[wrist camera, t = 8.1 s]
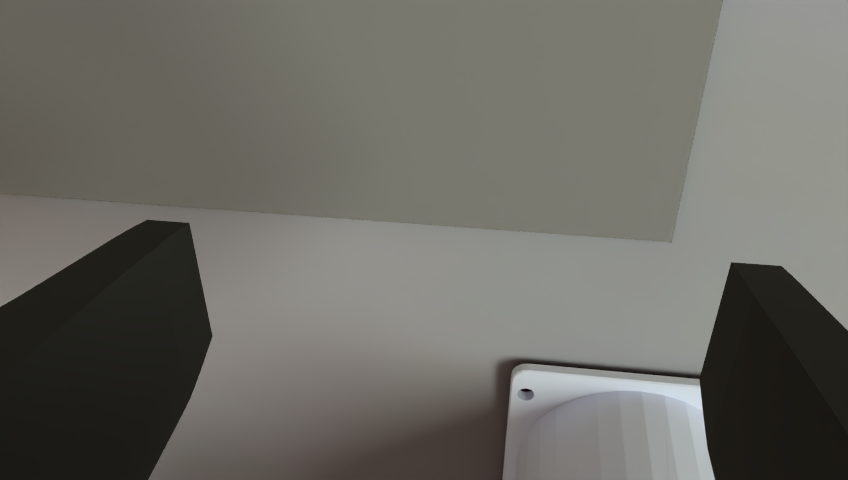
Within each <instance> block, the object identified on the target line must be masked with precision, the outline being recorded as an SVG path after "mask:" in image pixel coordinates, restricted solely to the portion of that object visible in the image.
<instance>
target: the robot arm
mask: <svg viewBox="0 0 848 480" xmlns="http://www.w3.org/2000/svg"><path fill="white" fill-rule="evenodd" d="M211 339H212V332H211V327H210V322H209V318H208V313H207V308H206V303H205V298H204V293H203V288H202V283H201V278H200V274H199V269H198V264H197V259H196V254H195V249H194V244H193V239H192V234H191V230H190V225H189V223H182V222H168V221H154V220H146V221H144V222H142V223H140V224H138V225H136V226H134V227H133V228H131V229H129V230H127V231H125V232H124V233H122V234H120V235H119V236H117V237H115V238H113V239H112V240H110V241H108V242H107V243H105V244H103V245H102V246H100V247H99V248H97V249H95V250H94V251H92V252H90V253H89V254H87V255H86V256H84V257H82V258H81V259H79V260H78V261H76V262H74V263H73V264H71V265H69V266H68V267H66V268H65V269H63V270H61V271H60V272H58V273H56V274H55V275H53V276H51V277H50V278H48V279H47V280H45V281H43V282H42V283H40V284H38V285H37V286H35V287H33V288H32V289H30V290H29V291H27V292H25V293H24V294H22V295H20V296H19V297H17V298H15V299H14V300H12V301H10V302H8V303H7V304H5V305H3V306H1V307H0V480H148V478H149V477H150V475H151V473H152V471H153V469H154V467H155V465H156V463H157V462H158V460H159V458H160V456H161V454H162V452H163V450H164V448H165V446H166V444H167V443H168V441H169V439H170V437H171V435H172V433H173V431H174V429H175V427H176V425H177V423H178V421H179V419H180V417H181V416H182V414H183V412H184V410H185V408H186V406H187V404H188V402H189V400H190V397H191V395H192V392H193V389H194V387H195V384H196V381H197V379H198V376H199V374H200V371H201V368H202V365H203V362H204V359H205V356H206V353H207V350H208V347H209V345H210V342H211ZM525 388H527V389H530V390H531V391H528V392H525V391H521V389H525ZM502 480H848V331H847V330H846V329H845V328H844V327H843V326H842V325H841V324H840V323H839V322H838V321H837V320H836V319H835V318H834V317H833V316H832V315H831V314H830V313H829V312H828V311H827V310H826V309H825V308H824V307H823V306H822V305H821V304H820V303H819V302H818V301H817V300H816V299H815V298H814V297H813V296H812V295H811V294H810V293H809V292H808V291H807V290H806V289H805V288H804V287H803V286H802V285H801V284H800V283H799V282H798V281H797V280H796V279H795V278H794V277H793V276H792V275H791V274H789V273H788V272H787V271H786V270H785V269H784V268H783V267H782V266H773V265H759V264H745V263H731V266H730V269H729V273H728V277H727V280H726V284H725V288H724V291H723V295H722V299H721V302H720V306H719V310H718V313H717V317H716V321H715V324H714V328H713V332H712V335H711V339H710V343H709V346H708V350H707V354H706V357H705V361H704V365H703V368H702V372H701V376H700V379H692V378H681V377H670V376H659V375H648V374H637V373H626V372H615V371H604V370H593V369H582V368H571V367H560V366H549V365H539V364H521V365H518V366H516V367H515V368H514V369H513V371H512V374H511V384H510V396H509V408H508V420H507V432H506V444H505V455H504V467H503V479H502Z"/></svg>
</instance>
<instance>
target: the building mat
mask: <svg viewBox="0 0 848 480" xmlns="http://www.w3.org/2000/svg"><path fill="white" fill-rule="evenodd" d="M722 3H723V0H0V194H14V195H28V196H41V197H55V198H69V199H83V200H96V201H110V202H124V203H138V204H151V205H165V206H179V207H193V208H206V209H220V210H234V211H248V212H261V213H275V214H289V215H303V216H316V217H330V218H344V219H358V220H372V221H385V222H399V223H413V224H427V225H440V226H454V227H468V228H482V229H495V230H509V231H523V232H537V233H550V234H564V235H578V236H592V237H605V238H619V239H633V240H647V241H660V242H672V238H673V233H674V229H675V224H676V219H677V215H678V210H679V205H680V200H681V196H682V191H683V186H684V182H685V177H686V172H687V167H688V163H689V158H690V153H691V149H692V144H693V139H694V134H695V130H696V125H697V120H698V116H699V111H700V106H701V102H702V97H703V92H704V87H705V83H706V78H707V73H708V69H709V64H710V59H711V54H712V50H713V45H714V40H715V36H716V31H717V26H718V21H719V17H720V12H721V7H722Z"/></svg>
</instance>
